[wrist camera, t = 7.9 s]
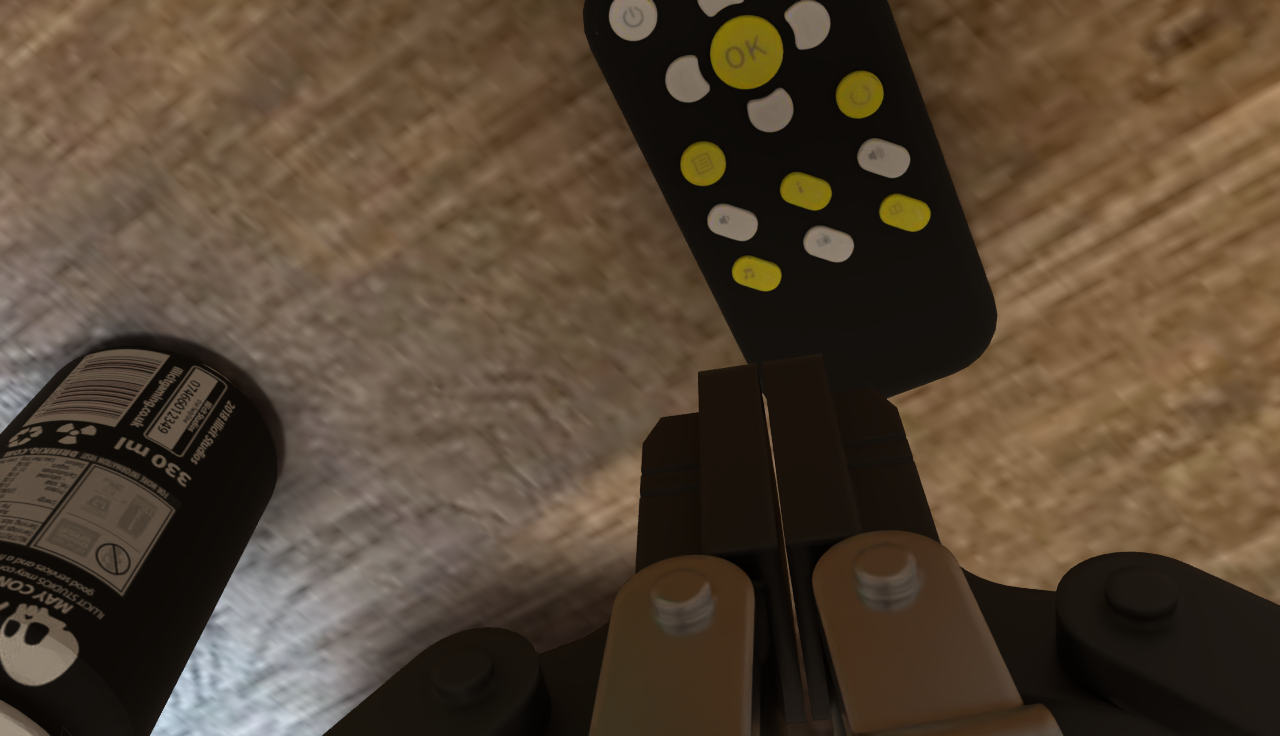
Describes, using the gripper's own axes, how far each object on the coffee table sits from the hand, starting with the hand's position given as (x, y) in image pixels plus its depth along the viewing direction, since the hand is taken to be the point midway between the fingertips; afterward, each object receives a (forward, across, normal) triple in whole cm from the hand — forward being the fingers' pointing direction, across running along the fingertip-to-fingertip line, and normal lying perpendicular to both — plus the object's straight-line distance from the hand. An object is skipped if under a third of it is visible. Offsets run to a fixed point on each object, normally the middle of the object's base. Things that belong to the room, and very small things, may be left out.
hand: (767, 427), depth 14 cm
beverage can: (+15, +17, +7) cm, 24 cm away
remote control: (+15, -2, +2) cm, 15 cm away
